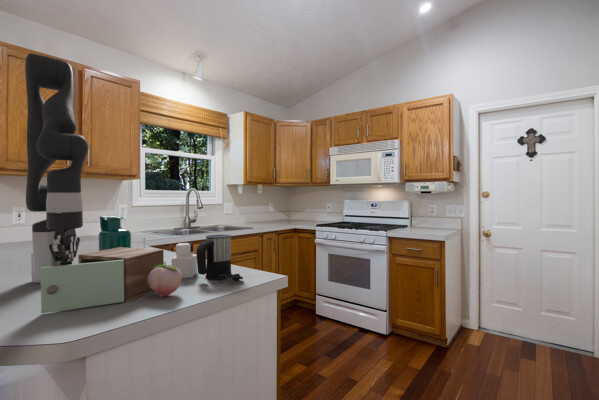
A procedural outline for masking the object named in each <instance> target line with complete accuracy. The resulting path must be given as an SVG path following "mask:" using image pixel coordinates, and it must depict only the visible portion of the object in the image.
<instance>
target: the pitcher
mask: <svg viewBox="0 0 599 400" xmlns="http://www.w3.org/2000/svg"><path fill="white" fill-rule="evenodd" d="M123 219H124V217H123V216H116V215H101V216H99V225H100V230H101V231H100V232H99V234H98V251H102V250H107V249H113V248H118V247H125V248H132V233H131V230H129V229H126V228H125V229H124V228H123V227H122V225H121V223H122V222H121V220H123Z"/></svg>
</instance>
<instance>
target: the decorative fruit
mask: <svg viewBox="0 0 599 400" xmlns="http://www.w3.org/2000/svg"><path fill="white" fill-rule="evenodd" d="M166 263H167V262H166V261H164V265H158V266H155V267H153V269H152V271H151V272H150V274H149V276H148V284H149V286H150V288H151V289H152V290H153V292H155V293H156V294H157V295H160V296H162V297H168V296H169V295H172V294H173V293H174V292H176V291H178V289H179V287H180V285H181V284H182V283H181V282H182V280H183V278H182V273H181V271H180V270H179V269H178V268H177V267H175V266H173V265H172V264H168V265H167V264H166Z"/></svg>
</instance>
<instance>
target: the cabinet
mask: <svg viewBox="0 0 599 400" xmlns="http://www.w3.org/2000/svg"><path fill="white" fill-rule="evenodd" d="M77 258H78V259H77V260H78V261H77V262H78V263H77V264H82V263H93V262H104V261H115V260H124V302H129V301H132V300H134V299H137V297H138V298H140V297H143V296H145V295H148V294H150V293H152V292H154V291H153V290H152V289H151V288H150V286H149V284H148V276H149V274H150V272H151V271H152V269H153V267H155V266H158V265H165V263H164V262H165V261H164V258H165V257H164V249H160V248H158V249H157V248H150V249H144V247H141V248H140V247H131V248H125V247H118V248H113V249H107V250H102V251H99V250H97V251H96V250H95V251H92V252H87V253H82V254H78V257H77ZM142 295H143V296H142ZM139 296H140V297H139Z"/></svg>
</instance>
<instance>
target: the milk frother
mask: <svg viewBox="0 0 599 400" xmlns="http://www.w3.org/2000/svg"><path fill="white" fill-rule="evenodd" d="M205 238H206V240H205V241H202V242H200V243H199V244H198V246H197V248H196V255H197V273H198V275H203V276H205V278H206V279H207V280H212V281H215V280H225V279H230V280H232V281H234V282H236V283H237V282H240V280H244V277H243V276H242V275H240V273H235V274H232V240H231V239H232V235H231V234H209V235H205Z"/></svg>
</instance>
